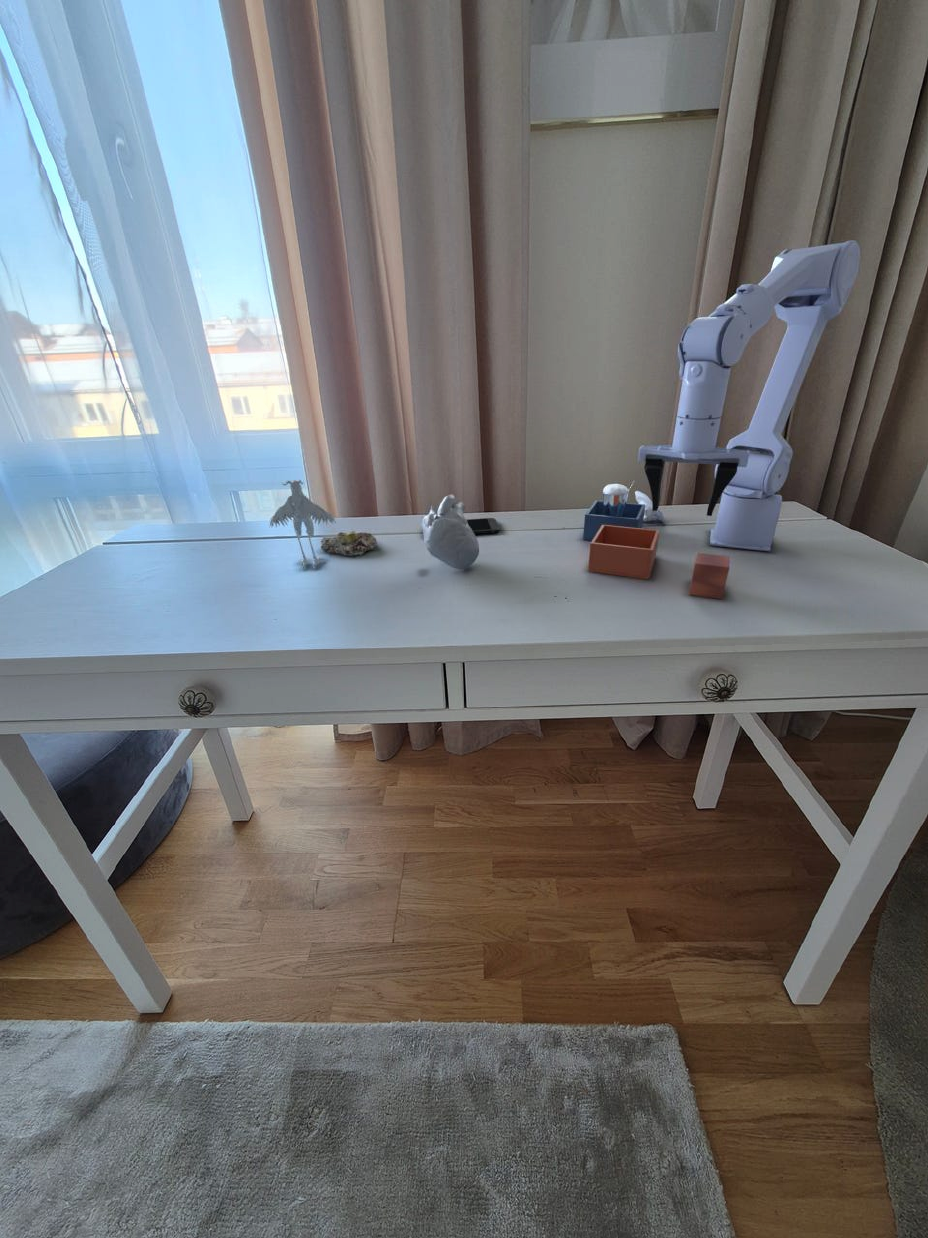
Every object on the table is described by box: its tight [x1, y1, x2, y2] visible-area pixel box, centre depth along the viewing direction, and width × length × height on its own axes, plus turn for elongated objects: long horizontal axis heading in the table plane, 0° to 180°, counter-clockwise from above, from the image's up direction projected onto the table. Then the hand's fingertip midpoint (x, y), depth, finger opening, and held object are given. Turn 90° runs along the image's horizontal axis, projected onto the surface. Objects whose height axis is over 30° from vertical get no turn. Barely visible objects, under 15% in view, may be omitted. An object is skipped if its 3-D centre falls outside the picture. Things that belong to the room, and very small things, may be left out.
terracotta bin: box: [587, 525, 661, 580], centre depth 83 cm, size 10×10×5 cm
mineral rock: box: [320, 530, 378, 557], centre depth 95 cm, size 11×4×8 cm
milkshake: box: [602, 479, 635, 517], centre depth 94 cm, size 4×5×10 cm
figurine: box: [269, 479, 337, 571], centre depth 86 cm, size 11×4×15 cm, turn 95°
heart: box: [421, 493, 480, 570], centre depth 84 cm, size 10×10×12 cm
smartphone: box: [466, 517, 501, 535], centre depth 102 cm, size 7×15×1 cm, turn 95°
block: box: [688, 552, 730, 600], centre depth 74 cm, size 4×4×5 cm
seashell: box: [634, 490, 666, 523], centre depth 102 cm, size 8×5×8 cm
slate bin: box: [582, 500, 645, 542], centre depth 96 cm, size 10×10×5 cm
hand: (681, 511), depth 77 cm, fingers open, 7 cm apart
